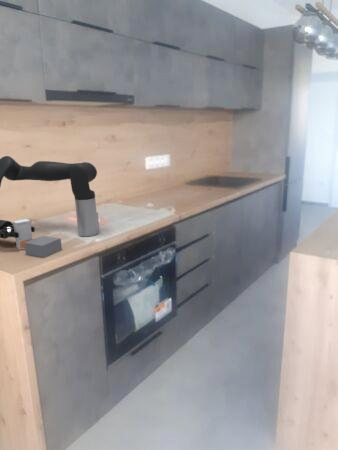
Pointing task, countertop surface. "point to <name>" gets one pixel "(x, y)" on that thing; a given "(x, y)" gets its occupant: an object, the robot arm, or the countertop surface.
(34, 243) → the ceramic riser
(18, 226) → the skincare box
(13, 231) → the robot arm
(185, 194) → the countertop surface
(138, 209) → the countertop surface
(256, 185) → the countertop surface
